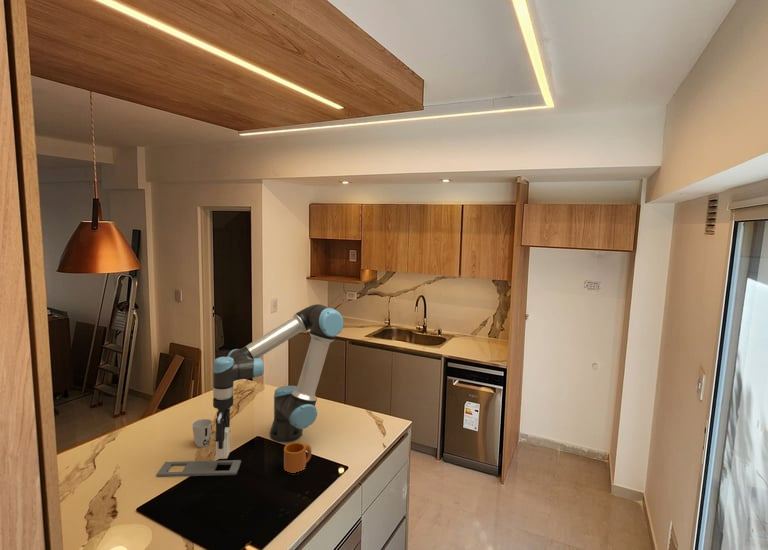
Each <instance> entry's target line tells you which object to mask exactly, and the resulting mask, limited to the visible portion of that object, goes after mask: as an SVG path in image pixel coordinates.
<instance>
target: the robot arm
mask: <svg viewBox="0 0 768 550" xmlns="http://www.w3.org/2000/svg"><path fill="white" fill-rule="evenodd" d="M343 329H344V318H343V316H342V314H341V313H340V312H339V311H338V310H336V309H335V308H332V307H328V306H326V305H323V304H318V303H317V304H316V303H315V304H312V305H309V306H306V307H305V308H303V309H302V310H299V311H298V312H296V313H294V314H293V316H292V318H290V319H289V320H286V321H285V322H283V323H281V324H280V325H278V326H277V327H275V328H273V329H272V330H270V331H269V332H266V333H265V334H263V335H261V336H260V337H258V338H256V339H255V340H254V341H252V342H250V343H248V344H247V345H245V346H244V347H242V348H240V349H239V348H235V349H232V350H230V351H229V352H228V354H227V356H220V357H216V358H215V359H214V361H213V369H212V374H213V377H212V378H213V381H212V382H213V388H211V391H213V394H212V395H213V398H212V405H213V408H214V409H217V412H216V418H214V419H215V432H216V439H215V438H214V439H215V440H214V441H215V443H216V442H218V447H217V456H225V439H224V435H225V427H230V425H231V423H230V421H231V418H230V417H231V413H230V411H231V407H232V406H234V382H235V381H240V380H241V381H242V380H246V379H253V378H257V377H261V376H262V375H263V374H264V372H265V364H264V361H263V359H262V358H260V357H262V356H264V355H266V354H267V353H268V352H272V350H273V349H275V348H277V347H279V346H280V345H281V344H283V343H285V342H286V341H288V340H290V339H291V338H293V337H295V336H296V335H298V334H300V333H301V332H303V333H305V332H308V331H309V335H310V338H311V339H310V342H309V345H308V349H307V352H306V355H305V359H304V362H303V366H302V369H301V373H300V376H299V379H298V382H297V385H284V386H279V387H278V388H276V389H275V390H274V394H273V395H274V396H273V421H272V423H271V427H270V430H269V437H270V439H272V440H273V441H275V442H280V443H288V442H290V443H291V442H294V441H296V440H298V439H300V438H301V437H302V435H303V431H304V430H303V429H307V428H309V426H312V425H313V424H314V423H315V421H316V420H317V418H318V417H317V416H318V410H317V407H316V403H317V400H318V397H317V396H316V392H317V389H318V388H317V387H318V384H319V381H320V378H321V374H322V371H323V368H324V364H325V361H326V358H327V354H328V350H329V347H330V344H331V343H332V342H334V341H335V339H336V336H338V335H339V334H341V332H342V330H343ZM230 428H231V427H230Z"/></svg>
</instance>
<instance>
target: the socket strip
mask: <svg viewBox="0 0 768 550" xmlns="http://www.w3.org/2000/svg"><path fill="white" fill-rule="evenodd" d="M241 463H242V460H241V459H233V460H227V459H226V460H224V459H221V460H189V461H188V460H184V461H183V460H182V461H181V460H179V461H178V460H176V461H165V462H164V463H163V464H162V465H161V467H160V468H159V470H158V471H157V473H156V478H159V477H160V478H161V477H163V478H164V477H165V478H167V477H169V478H170V477H198V476H199V477H200V476H201V477H202V476H203V477H204V476H209V477H210V476H236V475H237V474H238V471H239V469H240V466H241ZM219 465H220V466H223V465H224V466H229V465H230V468H229V470H216V469H217V467H218V466H219ZM174 466H175V467H178V466H180V467H182V466H183V467H184V468H183V469H182V471H170V469H171V468H172V467H174Z"/></svg>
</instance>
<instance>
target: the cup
mask: <svg viewBox="0 0 768 550" xmlns="http://www.w3.org/2000/svg"><path fill="white" fill-rule="evenodd" d="M191 425H192V434H193V439H194V443H195V445H196V447H198V448H205V447H207V446H208V445H209V444H210V441H211V438H212V433H213V432H212V431H213V420H212V419H209V418H201V419H197V420H196V421H194V422H192V424H191Z"/></svg>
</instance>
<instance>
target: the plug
mask: <svg viewBox="0 0 768 550" xmlns="http://www.w3.org/2000/svg"><path fill="white" fill-rule="evenodd" d="M230 433H231V427H225V435H224V439H225V456H217V447H218V442H216V441H215V459H217V460H219V459H220V460H224V459H226V460H227V459H228V457H229V455H230V453H231V449H230V448H231V447H230V446H231V441H230V440H231V437H230V435H231V434H230ZM214 439H216V431H215V432H214Z"/></svg>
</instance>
